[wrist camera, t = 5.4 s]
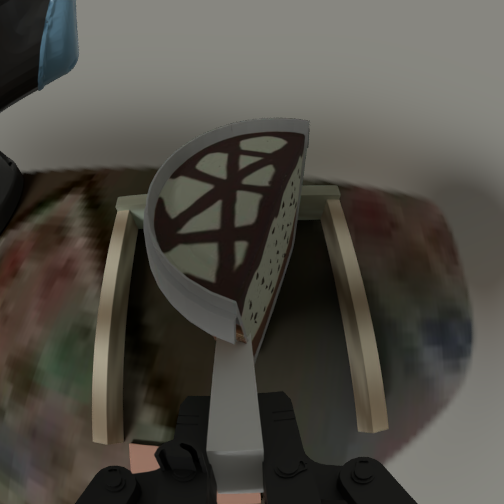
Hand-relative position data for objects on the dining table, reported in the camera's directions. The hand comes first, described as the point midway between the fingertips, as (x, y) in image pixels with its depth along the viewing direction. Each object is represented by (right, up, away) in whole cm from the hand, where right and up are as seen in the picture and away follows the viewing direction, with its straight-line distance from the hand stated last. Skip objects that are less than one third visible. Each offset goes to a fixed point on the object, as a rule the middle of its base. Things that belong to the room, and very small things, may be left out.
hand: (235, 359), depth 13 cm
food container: (0, +2, +7) cm, 8 cm away
